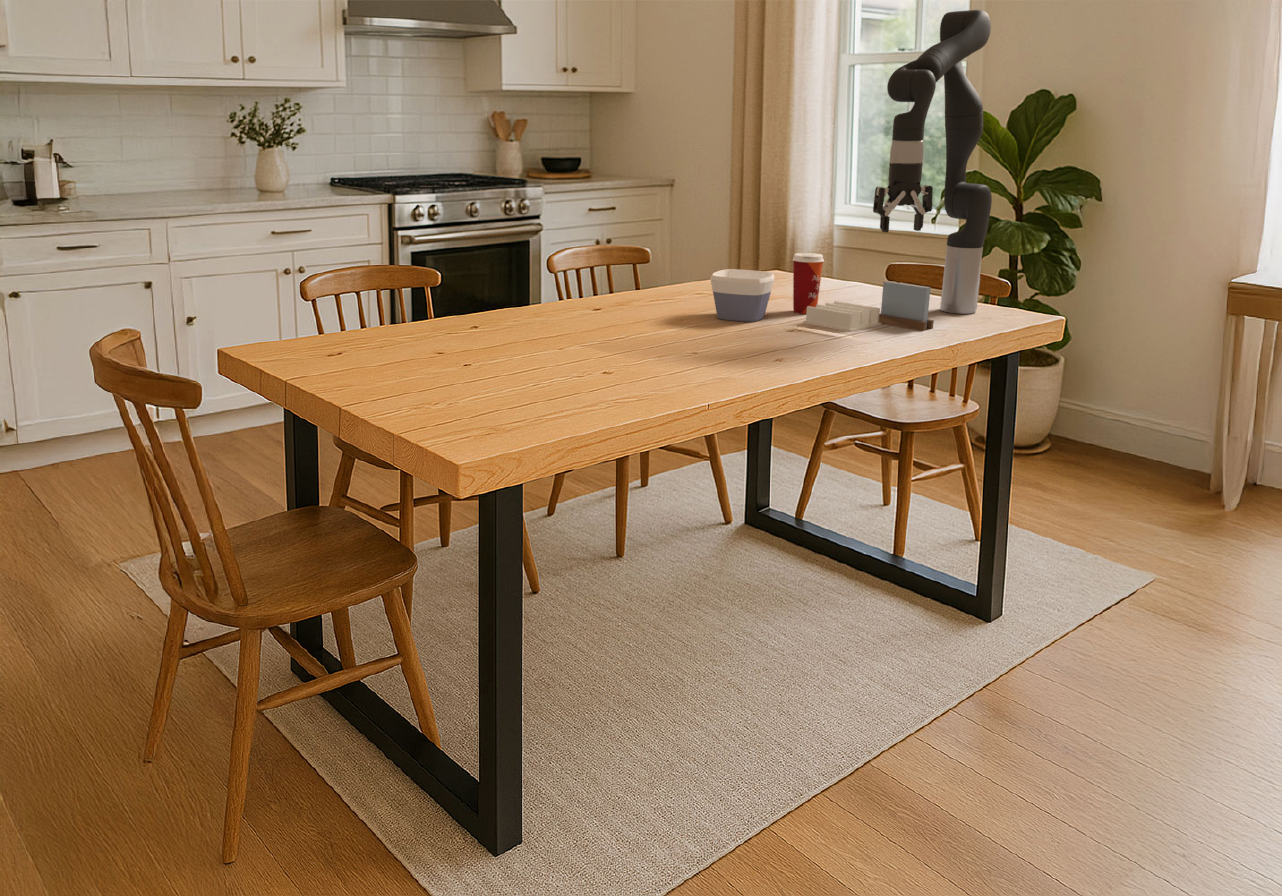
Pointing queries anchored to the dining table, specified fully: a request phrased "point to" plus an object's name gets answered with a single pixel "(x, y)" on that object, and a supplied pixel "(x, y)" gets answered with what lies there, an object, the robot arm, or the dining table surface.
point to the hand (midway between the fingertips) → (901, 231)
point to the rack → (843, 316)
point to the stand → (905, 322)
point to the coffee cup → (806, 280)
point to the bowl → (741, 294)
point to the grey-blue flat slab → (905, 301)
